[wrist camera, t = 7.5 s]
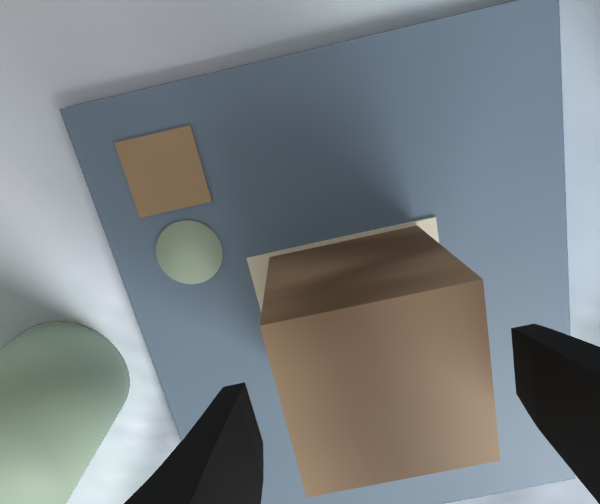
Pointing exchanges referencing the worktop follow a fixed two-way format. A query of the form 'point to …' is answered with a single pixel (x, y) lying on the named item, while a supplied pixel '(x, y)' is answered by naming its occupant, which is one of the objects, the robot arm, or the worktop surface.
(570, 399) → the robot arm
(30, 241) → the worktop surface
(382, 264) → the walnut block
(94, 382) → the sage drum
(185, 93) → the board
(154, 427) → the worktop surface
